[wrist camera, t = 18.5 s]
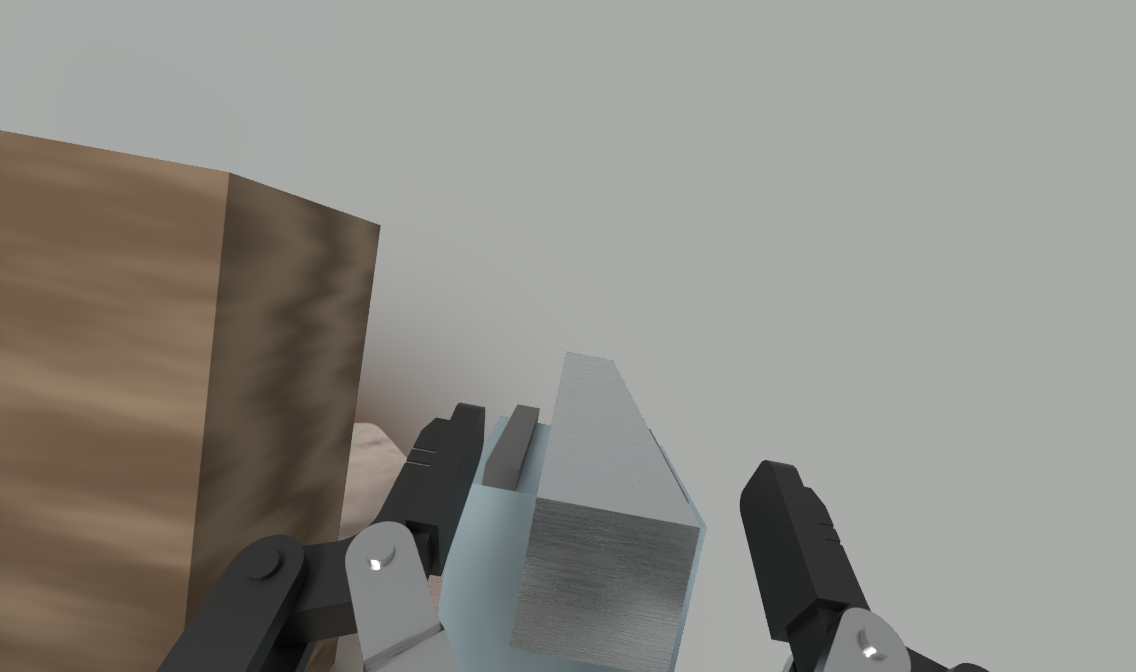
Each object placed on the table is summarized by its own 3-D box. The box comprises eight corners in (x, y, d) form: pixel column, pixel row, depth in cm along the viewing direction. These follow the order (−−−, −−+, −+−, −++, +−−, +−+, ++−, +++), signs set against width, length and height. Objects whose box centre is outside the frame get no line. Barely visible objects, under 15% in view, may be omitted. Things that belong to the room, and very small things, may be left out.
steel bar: (557, 397, 36) (566, 351, 36) (603, 405, 36) (612, 360, 36) (508, 647, 11) (536, 496, 10) (666, 677, 11) (700, 527, 10)
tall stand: (190, 633, 32) (233, 199, 29) (334, 660, 32) (394, 229, 28) (-113, 897, 18) (-94, 109, 15) (144, 947, 18) (219, 166, 15)
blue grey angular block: (452, 695, 31) (502, 401, 28) (602, 724, 31) (664, 431, 28) (392, 888, 21) (462, 459, 19) (614, 930, 21) (711, 505, 18)
